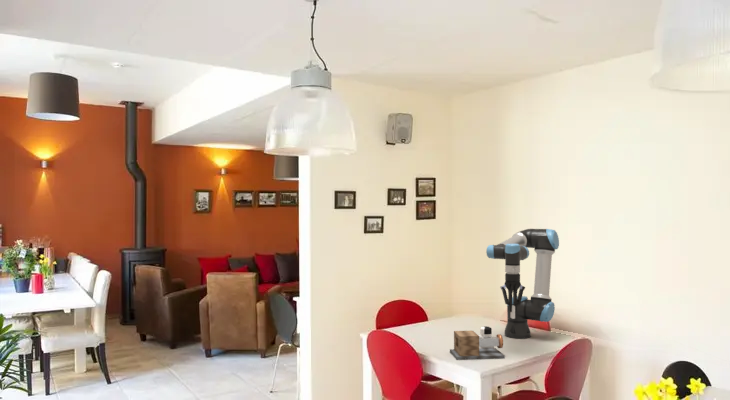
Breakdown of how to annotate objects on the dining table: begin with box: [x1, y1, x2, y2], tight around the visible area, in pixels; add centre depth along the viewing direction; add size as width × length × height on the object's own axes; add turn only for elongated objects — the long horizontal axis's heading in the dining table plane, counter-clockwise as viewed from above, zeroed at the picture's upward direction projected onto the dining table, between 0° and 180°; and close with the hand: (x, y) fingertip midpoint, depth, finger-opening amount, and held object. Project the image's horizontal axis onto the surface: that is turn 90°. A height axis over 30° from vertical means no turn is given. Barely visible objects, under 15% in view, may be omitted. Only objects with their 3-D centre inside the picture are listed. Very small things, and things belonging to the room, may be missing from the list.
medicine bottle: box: [478, 326, 495, 349], centre depth 295 cm, size 7×7×12 cm
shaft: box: [479, 333, 504, 349], centre depth 284 cm, size 18×7×7 cm, turn 95°
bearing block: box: [449, 330, 506, 361], centre depth 283 cm, size 25×14×12 cm, turn 95°
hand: (512, 318), depth 285 cm, fingers closed
